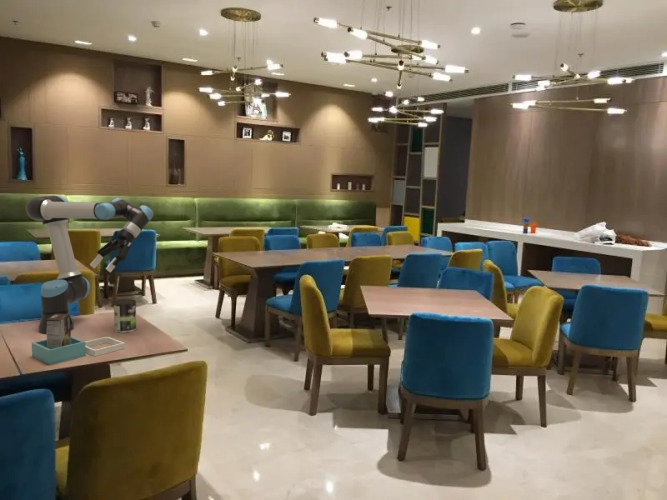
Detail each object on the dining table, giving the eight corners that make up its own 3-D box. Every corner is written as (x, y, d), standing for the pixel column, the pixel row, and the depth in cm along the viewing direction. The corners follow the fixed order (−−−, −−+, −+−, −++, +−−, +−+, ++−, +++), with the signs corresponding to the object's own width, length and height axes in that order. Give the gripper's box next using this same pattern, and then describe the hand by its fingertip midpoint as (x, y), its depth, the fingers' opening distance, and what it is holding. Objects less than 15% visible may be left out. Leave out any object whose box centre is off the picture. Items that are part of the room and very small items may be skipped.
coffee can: (140, 327, 277) (140, 299, 275) (129, 333, 267) (128, 304, 265) (122, 325, 279) (121, 298, 277) (109, 331, 269) (108, 303, 267)
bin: (32, 356, 232) (31, 342, 231) (67, 347, 244) (67, 334, 243) (49, 364, 223) (49, 350, 222) (85, 355, 235) (85, 341, 234)
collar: (77, 349, 243) (77, 343, 242) (107, 341, 254) (107, 336, 253) (94, 356, 234) (94, 350, 234) (124, 348, 245) (124, 342, 245)
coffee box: (56, 350, 238) (54, 313, 235) (72, 350, 238) (70, 313, 236) (46, 357, 229) (44, 319, 226) (63, 357, 229) (61, 319, 227)
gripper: (149, 241, 259) (120, 277, 249) (119, 236, 274) (91, 270, 264) (138, 230, 254) (109, 267, 244) (109, 226, 269) (80, 260, 260)
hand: (99, 268), depth 254 cm, fingers open, 13 cm apart
